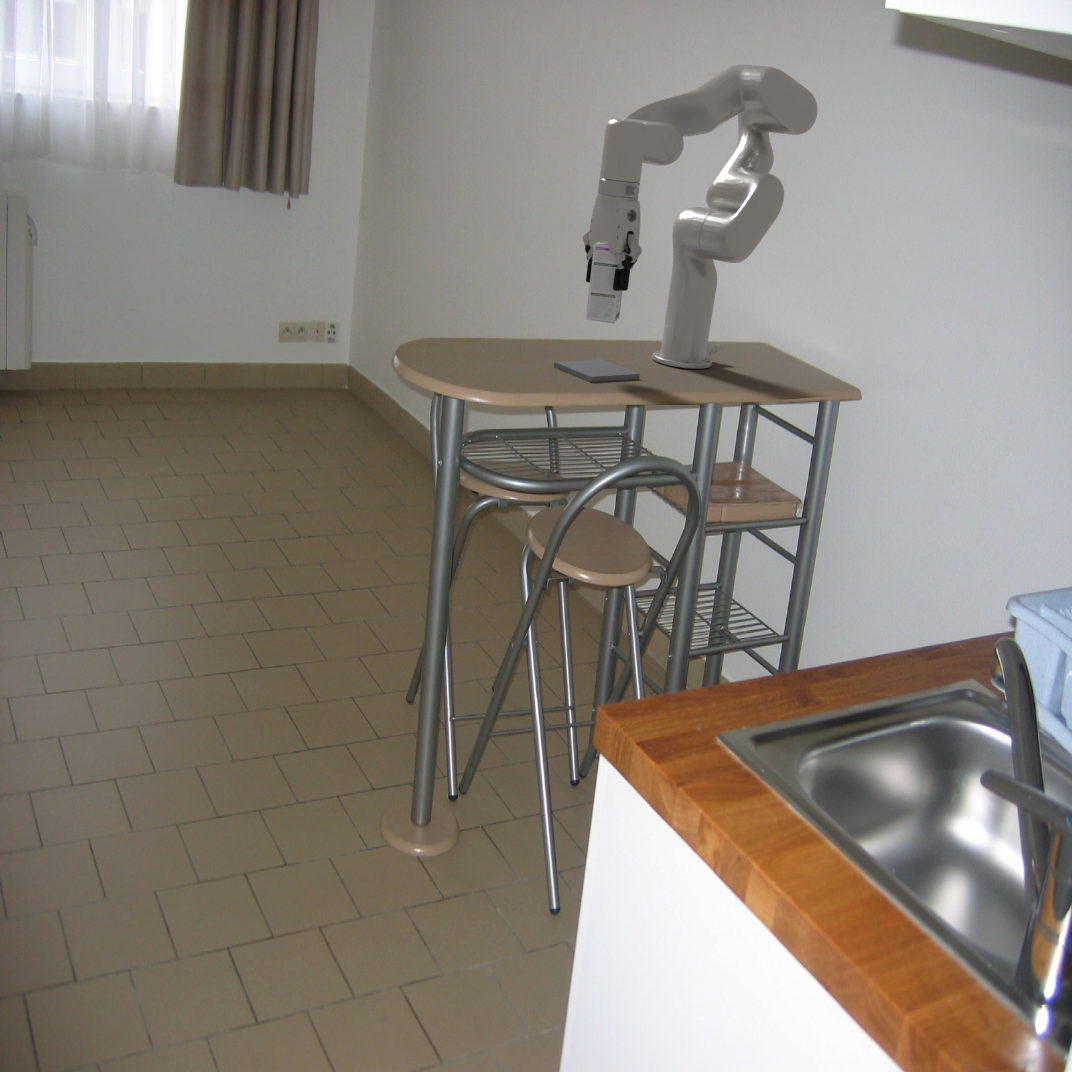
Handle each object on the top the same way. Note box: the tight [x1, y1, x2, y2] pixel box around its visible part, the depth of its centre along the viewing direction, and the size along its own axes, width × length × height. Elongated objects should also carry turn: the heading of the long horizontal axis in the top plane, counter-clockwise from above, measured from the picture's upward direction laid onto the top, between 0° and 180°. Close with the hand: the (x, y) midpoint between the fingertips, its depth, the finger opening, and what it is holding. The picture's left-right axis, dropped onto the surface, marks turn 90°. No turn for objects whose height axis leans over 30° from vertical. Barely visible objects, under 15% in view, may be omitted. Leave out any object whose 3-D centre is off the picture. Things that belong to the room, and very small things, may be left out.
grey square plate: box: [553, 359, 640, 383], centre depth 222 cm, size 12×12×1 cm
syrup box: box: [585, 243, 625, 324], centre depth 216 cm, size 6×6×14 cm
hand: (606, 285), depth 216 cm, fingers closed on syrup box, 7 cm apart
